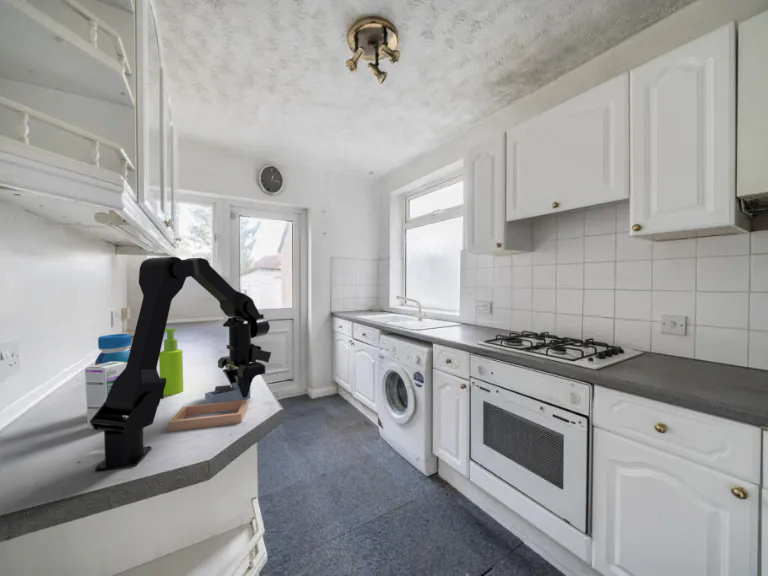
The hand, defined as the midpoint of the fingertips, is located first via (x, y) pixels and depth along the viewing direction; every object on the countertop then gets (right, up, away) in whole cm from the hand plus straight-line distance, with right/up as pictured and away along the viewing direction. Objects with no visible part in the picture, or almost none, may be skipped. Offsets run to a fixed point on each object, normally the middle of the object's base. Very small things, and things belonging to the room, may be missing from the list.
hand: (241, 395), depth 92 cm
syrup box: (-25, -2, -15) cm, 29 cm away
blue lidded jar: (-30, -2, -6) cm, 31 cm away
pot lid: (-3, -1, -3) cm, 5 cm away
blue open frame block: (-2, -1, -3) cm, 4 cm away
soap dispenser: (-24, -2, +6) cm, 25 cm away
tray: (-1, -1, -14) cm, 14 cm away
